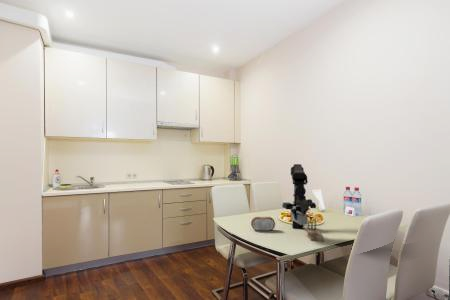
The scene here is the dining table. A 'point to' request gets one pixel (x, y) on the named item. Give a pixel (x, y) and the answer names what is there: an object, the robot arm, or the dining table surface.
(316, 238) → the header board
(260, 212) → the dining table surface
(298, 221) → the plug
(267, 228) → the tin
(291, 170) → the robot arm
